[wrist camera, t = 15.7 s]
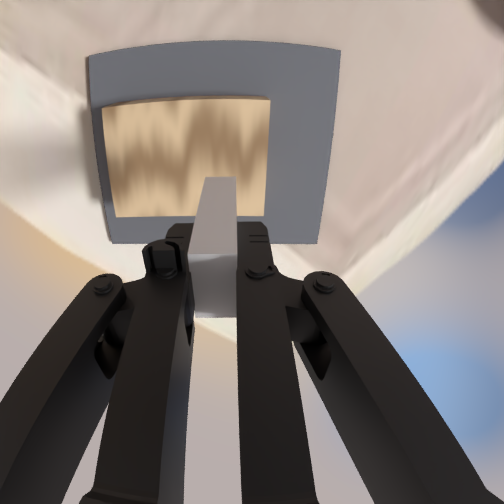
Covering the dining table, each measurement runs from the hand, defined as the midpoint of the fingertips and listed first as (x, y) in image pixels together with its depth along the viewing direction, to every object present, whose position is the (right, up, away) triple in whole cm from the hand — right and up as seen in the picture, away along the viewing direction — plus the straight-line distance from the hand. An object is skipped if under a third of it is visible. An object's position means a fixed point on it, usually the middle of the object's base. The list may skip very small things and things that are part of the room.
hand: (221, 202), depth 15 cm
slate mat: (-2, +6, +9) cm, 11 cm away
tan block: (+3, +5, +8) cm, 9 cm away
